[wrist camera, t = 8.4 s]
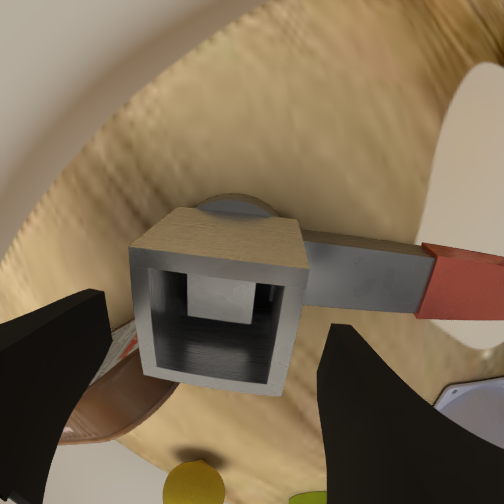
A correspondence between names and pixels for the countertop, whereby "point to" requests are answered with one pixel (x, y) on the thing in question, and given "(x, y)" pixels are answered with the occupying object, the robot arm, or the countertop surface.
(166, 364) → the socket
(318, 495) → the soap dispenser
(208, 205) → the ratchet
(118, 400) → the tin
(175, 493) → the lemon
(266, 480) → the countertop surface
